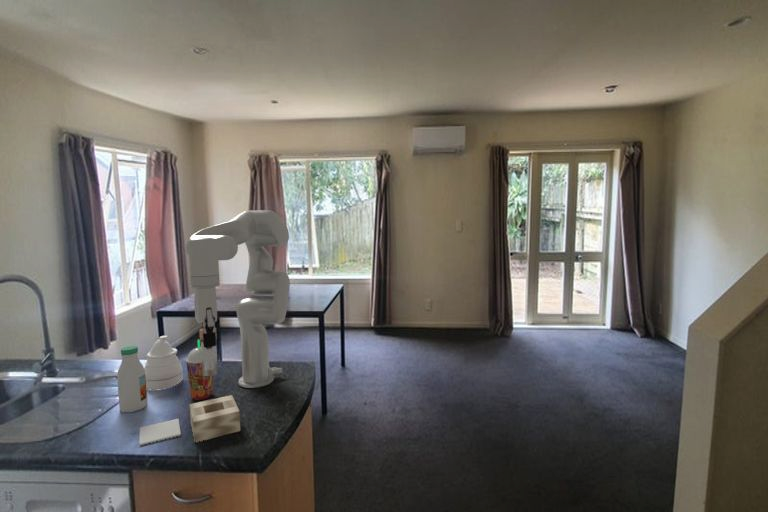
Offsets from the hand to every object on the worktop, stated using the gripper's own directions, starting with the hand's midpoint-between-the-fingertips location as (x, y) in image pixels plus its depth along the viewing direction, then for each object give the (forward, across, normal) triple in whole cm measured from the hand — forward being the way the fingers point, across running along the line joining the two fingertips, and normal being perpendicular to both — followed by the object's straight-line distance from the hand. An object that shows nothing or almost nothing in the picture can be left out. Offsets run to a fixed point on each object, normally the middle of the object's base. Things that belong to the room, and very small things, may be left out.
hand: (208, 343), depth 116 cm
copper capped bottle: (+9, 0, 0) cm, 9 cm away
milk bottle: (+26, -27, -20) cm, 42 cm away
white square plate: (+25, -5, -14) cm, 29 cm away
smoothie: (+26, -24, 0) cm, 35 cm away
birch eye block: (+25, 0, 0) cm, 25 cm away
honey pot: (+26, -44, -11) cm, 52 cm away
